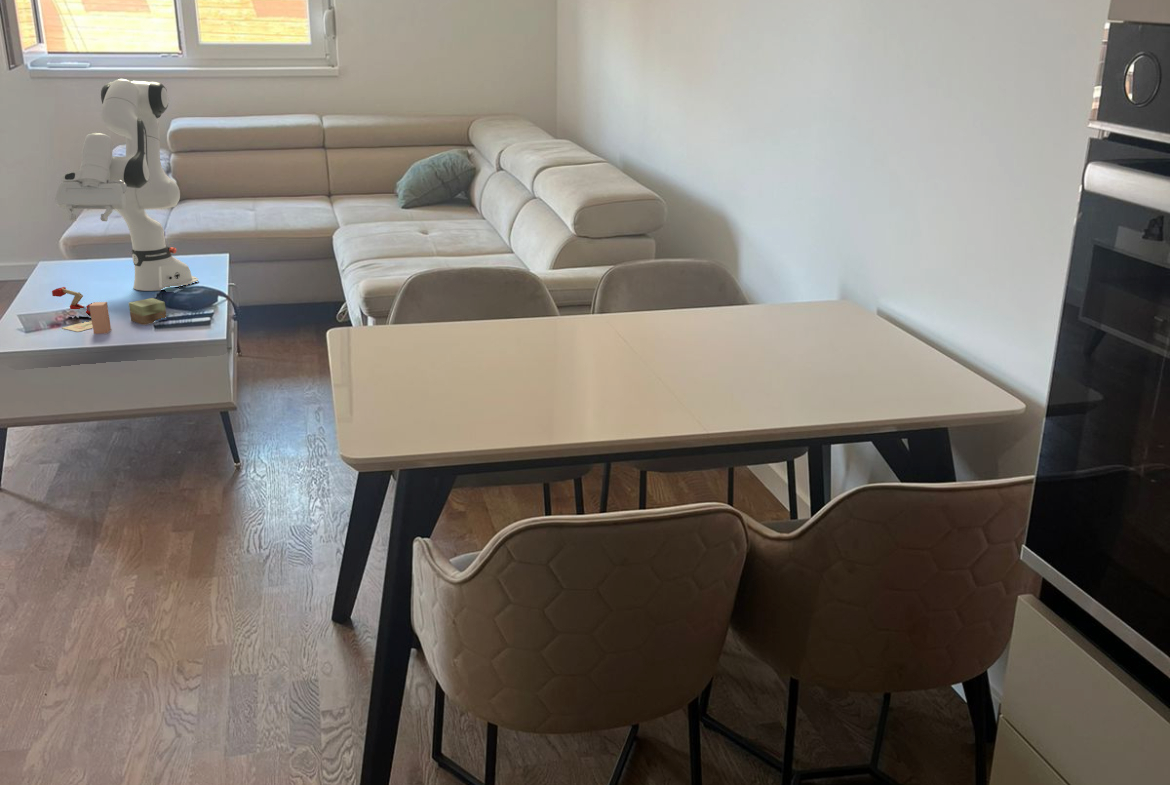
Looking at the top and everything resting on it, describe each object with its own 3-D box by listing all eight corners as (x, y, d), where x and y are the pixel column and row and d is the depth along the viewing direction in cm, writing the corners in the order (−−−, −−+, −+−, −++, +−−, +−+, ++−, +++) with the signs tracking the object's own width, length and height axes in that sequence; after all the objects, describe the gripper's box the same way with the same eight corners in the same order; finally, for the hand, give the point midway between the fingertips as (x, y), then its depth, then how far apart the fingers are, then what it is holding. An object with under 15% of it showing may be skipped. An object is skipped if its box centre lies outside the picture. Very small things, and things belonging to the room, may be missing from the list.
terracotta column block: (98, 330, 335) (93, 302, 331) (111, 329, 335) (106, 301, 332) (93, 333, 331) (89, 305, 328) (107, 333, 331) (102, 305, 328)
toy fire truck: (96, 319, 346) (91, 290, 343) (55, 318, 347) (50, 289, 344) (101, 316, 349) (96, 287, 346) (61, 315, 351) (56, 286, 347)
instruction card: (89, 320, 344) (89, 320, 344) (106, 324, 340) (105, 323, 340) (61, 328, 336) (61, 327, 336) (78, 332, 332) (78, 331, 332)
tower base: (154, 315, 350) (151, 297, 348) (167, 319, 345) (164, 302, 343) (131, 320, 344) (128, 302, 342) (143, 325, 340) (141, 306, 338)
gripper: (131, 185, 337) (126, 225, 333) (64, 184, 336) (59, 224, 332) (123, 175, 331) (118, 216, 327) (56, 175, 330) (50, 215, 326)
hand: (88, 220), depth 330 cm, fingers open, 8 cm apart
